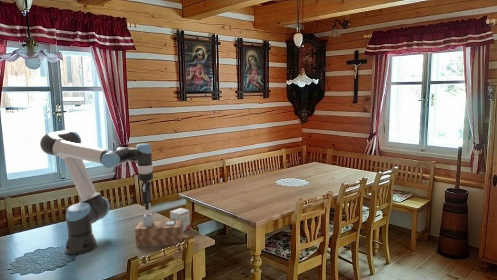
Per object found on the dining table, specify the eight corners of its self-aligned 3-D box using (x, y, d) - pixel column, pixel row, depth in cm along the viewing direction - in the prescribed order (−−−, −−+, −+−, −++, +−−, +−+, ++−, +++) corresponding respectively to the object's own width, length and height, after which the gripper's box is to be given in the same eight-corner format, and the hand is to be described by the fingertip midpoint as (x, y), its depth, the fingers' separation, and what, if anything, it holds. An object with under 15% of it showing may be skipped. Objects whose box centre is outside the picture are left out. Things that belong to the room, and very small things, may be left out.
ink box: (181, 225, 217) (180, 207, 215) (190, 228, 212) (190, 209, 210) (170, 229, 211) (169, 210, 209) (179, 233, 205) (178, 213, 203)
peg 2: (167, 240, 192) (166, 224, 191) (168, 237, 196) (167, 221, 194) (174, 240, 192) (173, 224, 191) (175, 237, 196) (174, 221, 195)
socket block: (136, 246, 188) (135, 228, 187) (140, 238, 198) (139, 222, 196) (181, 244, 190) (180, 227, 188) (183, 237, 199) (182, 220, 198)
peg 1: (144, 233, 190) (143, 216, 189) (145, 230, 194) (145, 213, 193) (151, 232, 191) (150, 216, 189) (153, 230, 195) (152, 213, 193)
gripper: (150, 175, 182) (152, 218, 185) (155, 169, 195) (157, 210, 198) (135, 175, 181) (138, 219, 184) (141, 170, 194) (143, 210, 197)
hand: (148, 214), depth 191 cm, fingers closed
